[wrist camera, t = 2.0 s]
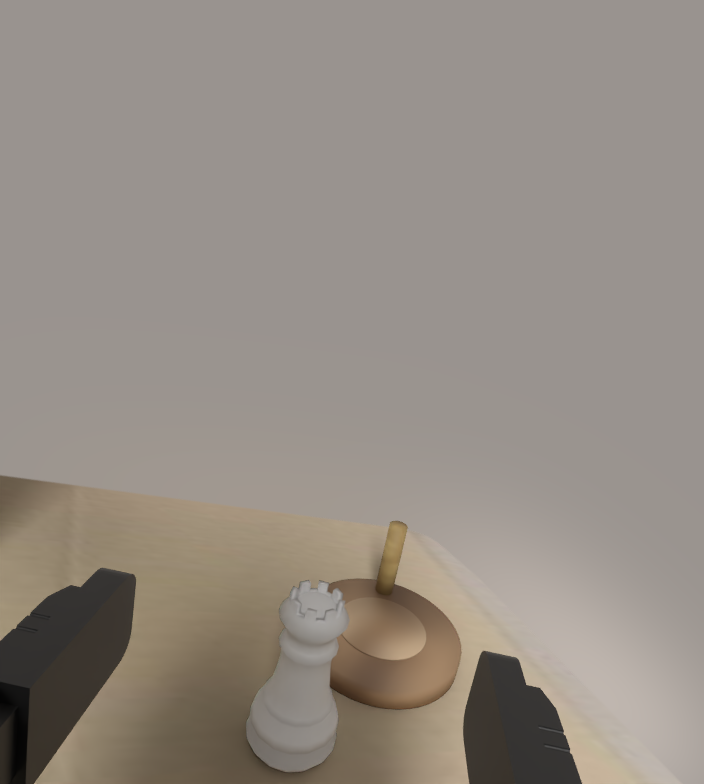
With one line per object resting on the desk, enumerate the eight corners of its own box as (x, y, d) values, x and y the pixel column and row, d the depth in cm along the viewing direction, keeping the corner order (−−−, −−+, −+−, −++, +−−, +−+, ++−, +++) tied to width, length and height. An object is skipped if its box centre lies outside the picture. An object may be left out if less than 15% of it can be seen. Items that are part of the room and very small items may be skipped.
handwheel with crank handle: (283, 685, 30) (301, 587, 28) (312, 581, 40) (327, 503, 38) (465, 727, 30) (494, 630, 28) (449, 611, 39) (470, 534, 38)
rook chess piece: (235, 708, 28) (257, 571, 26) (317, 693, 30) (344, 564, 28) (256, 790, 24) (285, 636, 22) (348, 767, 26) (382, 623, 24)
